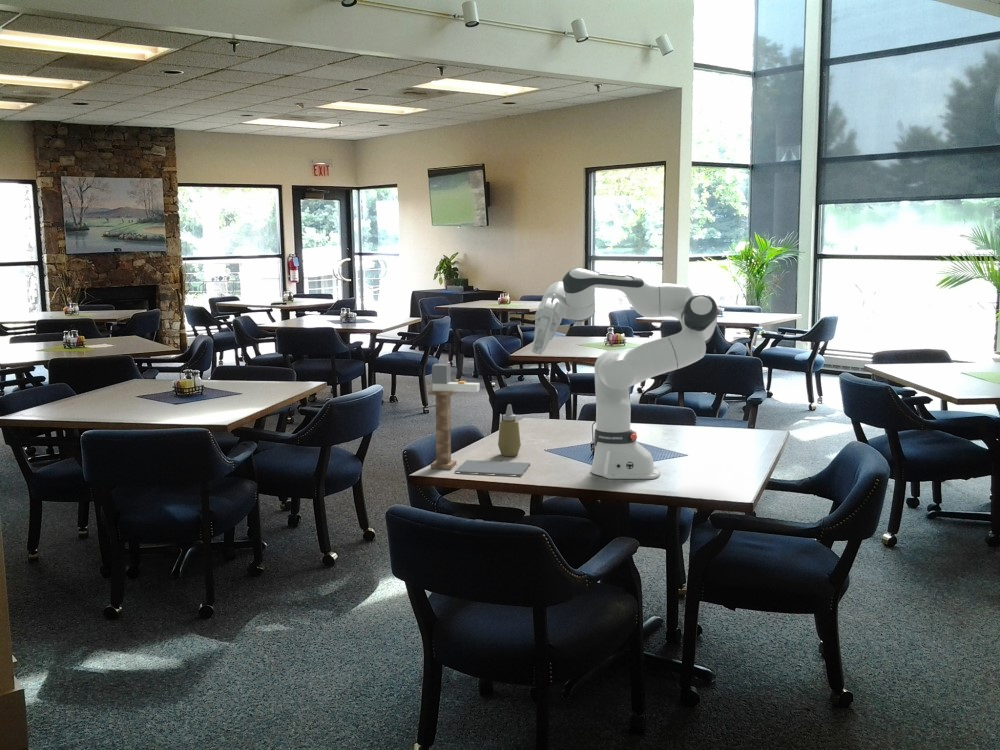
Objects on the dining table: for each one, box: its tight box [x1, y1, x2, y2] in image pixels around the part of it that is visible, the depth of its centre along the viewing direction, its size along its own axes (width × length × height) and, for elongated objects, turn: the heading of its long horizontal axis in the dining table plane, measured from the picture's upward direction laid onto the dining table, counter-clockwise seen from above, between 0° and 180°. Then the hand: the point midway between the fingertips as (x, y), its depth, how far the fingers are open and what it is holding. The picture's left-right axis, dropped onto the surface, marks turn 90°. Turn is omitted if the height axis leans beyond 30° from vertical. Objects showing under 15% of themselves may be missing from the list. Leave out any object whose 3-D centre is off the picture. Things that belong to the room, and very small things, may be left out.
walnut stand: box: [427, 388, 457, 470], centre depth 310 cm, size 8×8×26 cm
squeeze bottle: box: [497, 404, 522, 457], centre depth 329 cm, size 8×8×18 cm
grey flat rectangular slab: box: [454, 459, 531, 477], centre depth 309 cm, size 22×16×1 cm
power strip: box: [431, 363, 481, 393], centre depth 307 cm, size 15×5×8 cm, turn 78°
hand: (538, 341), depth 299 cm, fingers open, 8 cm apart
